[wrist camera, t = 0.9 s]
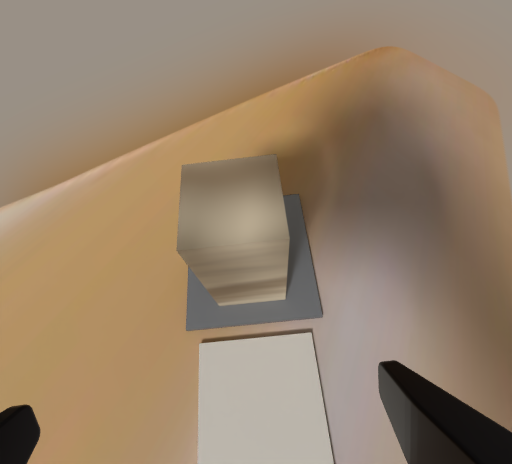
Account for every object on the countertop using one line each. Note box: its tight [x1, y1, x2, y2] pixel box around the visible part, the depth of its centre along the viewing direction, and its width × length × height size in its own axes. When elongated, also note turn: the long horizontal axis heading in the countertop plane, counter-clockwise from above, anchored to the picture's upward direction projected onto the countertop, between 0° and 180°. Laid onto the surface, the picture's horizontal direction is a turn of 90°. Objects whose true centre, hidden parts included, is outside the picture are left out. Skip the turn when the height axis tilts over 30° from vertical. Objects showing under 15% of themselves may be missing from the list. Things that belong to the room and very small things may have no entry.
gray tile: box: [186, 194, 323, 331], centre depth 23 cm, size 11×10×1 cm
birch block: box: [177, 154, 290, 306], centre depth 18 cm, size 5×5×10 cm
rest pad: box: [198, 333, 334, 464], centre depth 18 cm, size 8×8×1 cm
